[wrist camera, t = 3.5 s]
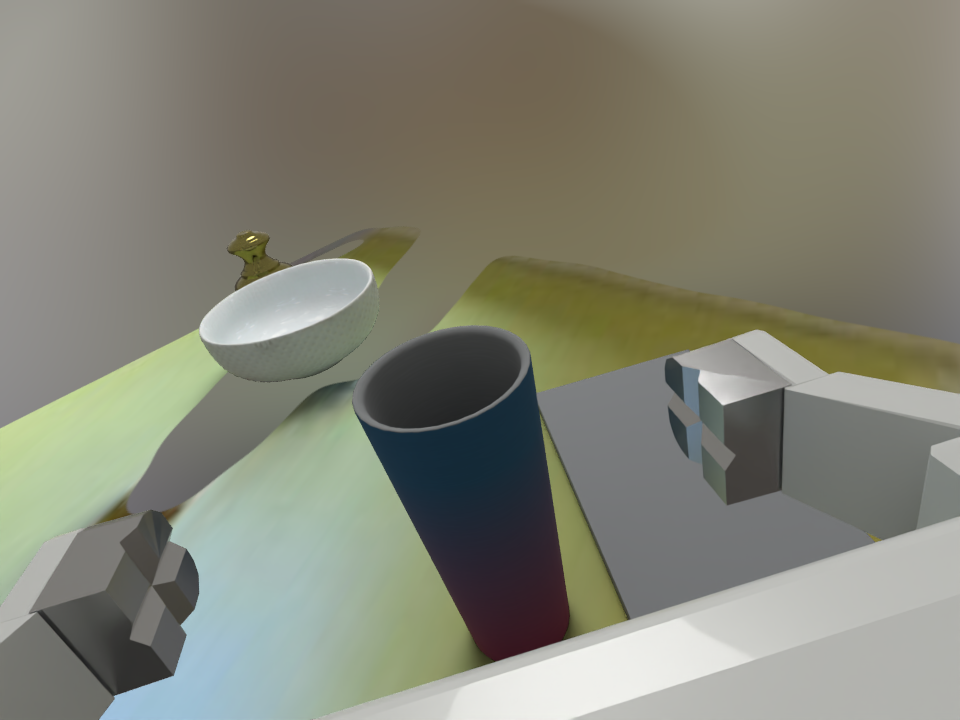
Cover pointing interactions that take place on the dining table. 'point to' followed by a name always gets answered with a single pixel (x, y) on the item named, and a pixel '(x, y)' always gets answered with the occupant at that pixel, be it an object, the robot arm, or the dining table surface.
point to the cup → (473, 478)
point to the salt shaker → (254, 257)
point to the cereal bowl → (293, 321)
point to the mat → (670, 498)
